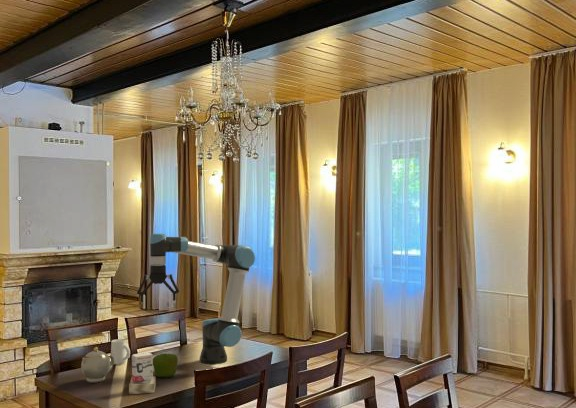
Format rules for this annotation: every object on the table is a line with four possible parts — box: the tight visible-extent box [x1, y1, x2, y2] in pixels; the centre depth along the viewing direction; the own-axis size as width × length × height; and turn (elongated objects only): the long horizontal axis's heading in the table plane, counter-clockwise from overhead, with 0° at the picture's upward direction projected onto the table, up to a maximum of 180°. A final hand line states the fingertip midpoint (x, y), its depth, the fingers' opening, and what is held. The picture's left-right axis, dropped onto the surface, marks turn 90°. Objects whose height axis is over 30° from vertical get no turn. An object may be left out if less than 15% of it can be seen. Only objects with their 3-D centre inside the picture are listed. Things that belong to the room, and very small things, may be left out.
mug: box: [110, 338, 131, 365], centre depth 315 cm, size 8×12×12 cm
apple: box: [153, 353, 179, 379], centre depth 287 cm, size 12×12×11 cm
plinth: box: [128, 375, 157, 395], centre depth 265 cm, size 11×13×4 cm
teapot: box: [80, 346, 115, 384], centre depth 281 cm, size 18×14×16 cm
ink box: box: [131, 351, 154, 382], centre depth 265 cm, size 8×5×12 cm, turn 124°
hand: (158, 308), depth 283 cm, fingers open, 13 cm apart
